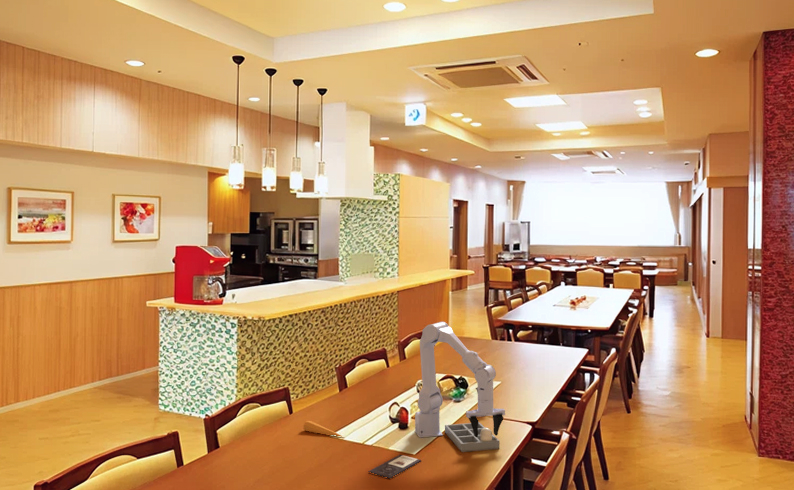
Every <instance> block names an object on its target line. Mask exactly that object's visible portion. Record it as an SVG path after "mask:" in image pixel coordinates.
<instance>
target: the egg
mask: <svg viewBox="0 0 794 490" xmlns="http://www.w3.org/2000/svg"><path fill="white" fill-rule="evenodd" d="M492 434H493V431H492V430H491V429H490V428H488V427H485V428H483V429H482V430H481V431H480V441H491V440H492Z"/></svg>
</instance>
